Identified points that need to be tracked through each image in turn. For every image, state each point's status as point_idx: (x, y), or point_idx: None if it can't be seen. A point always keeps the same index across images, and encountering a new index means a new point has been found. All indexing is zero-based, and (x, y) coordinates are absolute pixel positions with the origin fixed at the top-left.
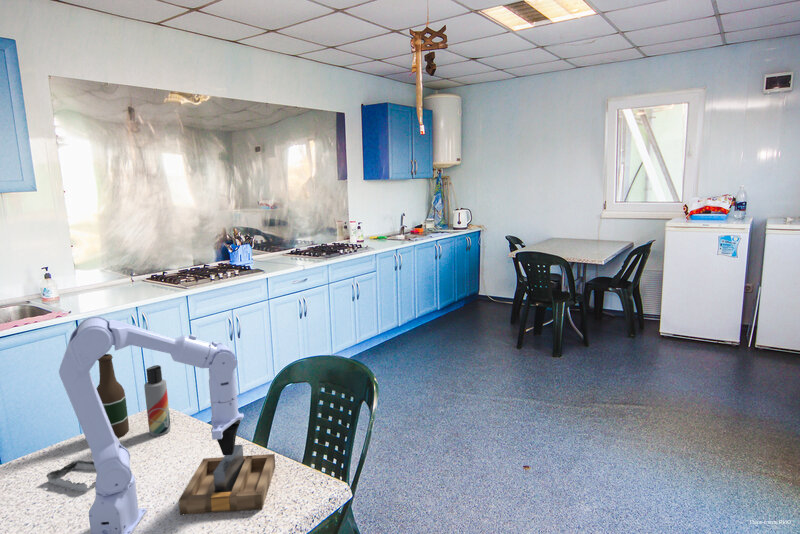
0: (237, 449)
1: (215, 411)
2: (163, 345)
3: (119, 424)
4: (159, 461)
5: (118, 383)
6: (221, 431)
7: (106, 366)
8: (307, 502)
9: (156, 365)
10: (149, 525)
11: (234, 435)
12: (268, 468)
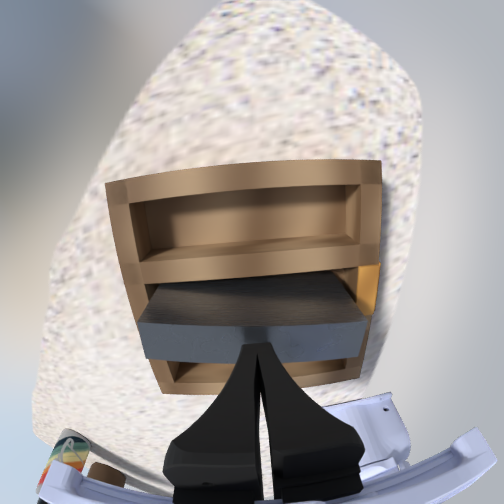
0: (179, 332)
1: None
2: None
3: (106, 482)
4: (152, 435)
5: None
6: (490, 458)
7: None
8: (328, 40)
9: None
10: (363, 384)
11: (296, 410)
12: (208, 171)
